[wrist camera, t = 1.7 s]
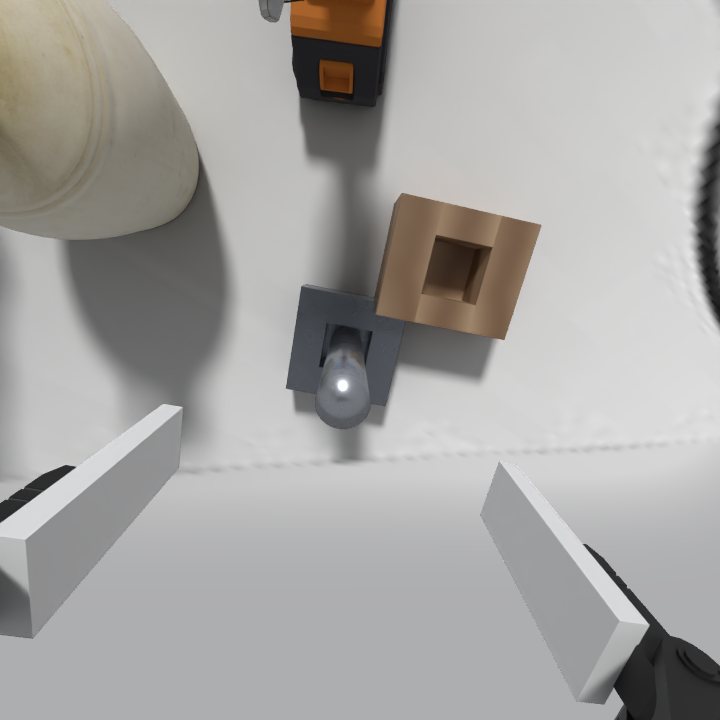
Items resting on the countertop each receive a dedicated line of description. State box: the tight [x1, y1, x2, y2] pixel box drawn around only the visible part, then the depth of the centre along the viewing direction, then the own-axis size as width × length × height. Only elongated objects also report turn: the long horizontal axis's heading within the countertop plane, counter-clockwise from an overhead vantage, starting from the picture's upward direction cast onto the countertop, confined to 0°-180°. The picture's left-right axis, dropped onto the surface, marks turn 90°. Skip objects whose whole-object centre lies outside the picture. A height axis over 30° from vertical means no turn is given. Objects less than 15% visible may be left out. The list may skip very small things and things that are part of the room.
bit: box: [315, 327, 370, 429], centre depth 27 cm, size 3×3×16 cm
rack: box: [375, 193, 541, 340], centre depth 31 cm, size 12×10×5 cm
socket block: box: [286, 284, 406, 406], centre depth 34 cm, size 10×10×4 cm
